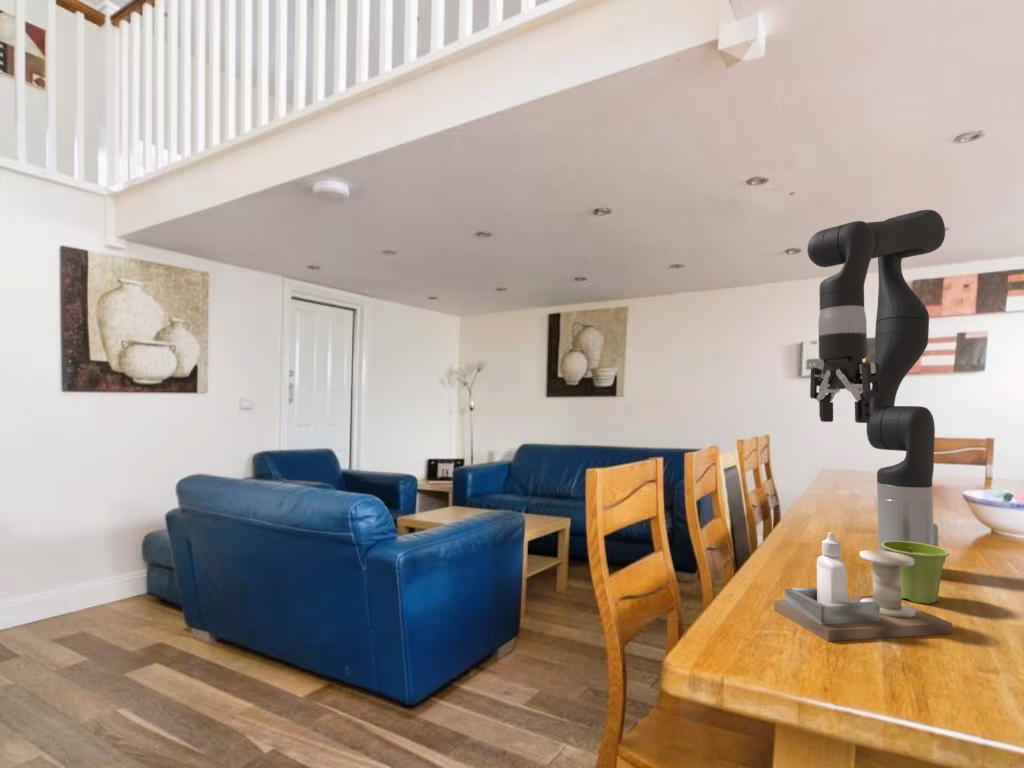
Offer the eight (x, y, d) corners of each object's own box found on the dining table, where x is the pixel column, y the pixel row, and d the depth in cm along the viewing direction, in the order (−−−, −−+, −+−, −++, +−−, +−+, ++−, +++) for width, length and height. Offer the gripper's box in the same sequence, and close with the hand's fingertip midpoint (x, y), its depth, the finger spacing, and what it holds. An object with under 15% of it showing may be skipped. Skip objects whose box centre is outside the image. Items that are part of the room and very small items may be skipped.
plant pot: (963, 610, 89) (961, 556, 89) (898, 605, 90) (897, 552, 91) (931, 591, 98) (929, 542, 98) (872, 587, 100) (871, 539, 100)
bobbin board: (884, 604, 91) (882, 545, 91) (952, 633, 79) (950, 565, 80) (774, 609, 88) (773, 548, 88) (828, 641, 76) (827, 570, 76)
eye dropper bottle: (812, 614, 82) (811, 533, 83) (818, 604, 86) (817, 527, 87) (846, 621, 79) (845, 538, 80) (851, 610, 84) (849, 531, 84)
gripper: (892, 328, 93) (895, 423, 93) (831, 339, 107) (833, 421, 107) (853, 327, 92) (855, 423, 91) (797, 337, 106) (798, 421, 105)
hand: (843, 422), depth 99 cm, fingers open, 8 cm apart
